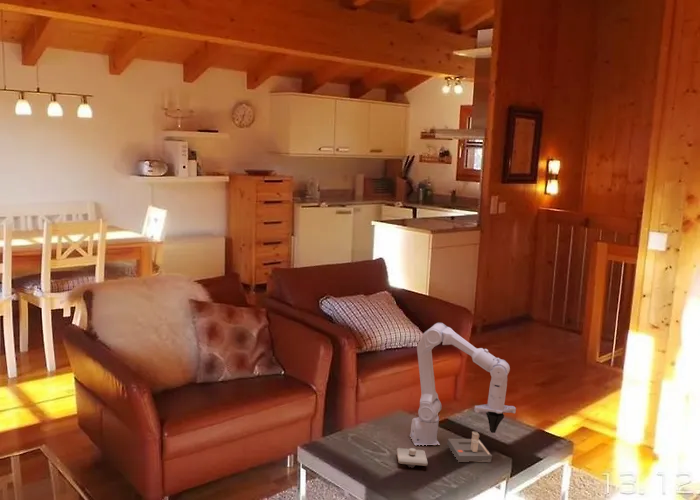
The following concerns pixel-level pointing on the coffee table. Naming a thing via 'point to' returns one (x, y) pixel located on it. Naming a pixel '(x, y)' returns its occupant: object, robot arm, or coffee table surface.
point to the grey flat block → (468, 450)
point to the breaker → (475, 435)
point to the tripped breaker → (474, 445)
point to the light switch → (411, 457)
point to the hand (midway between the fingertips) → (492, 431)
